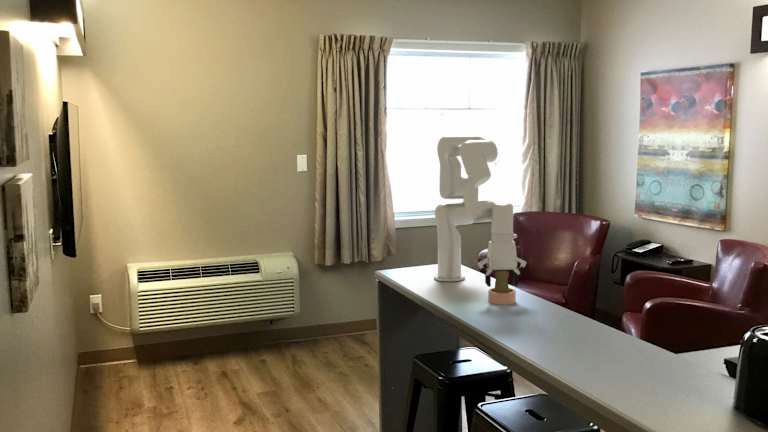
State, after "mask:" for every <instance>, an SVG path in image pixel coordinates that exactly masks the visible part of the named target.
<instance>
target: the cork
mask: <svg viewBox="0 0 768 432" xmlns="http://www.w3.org/2000/svg"><path fill="white" fill-rule="evenodd" d="M493 274H494V278H495V281H494V288H495V289H494V292H496V293H509V288H510V286H509V280H508V278H510V277H509V276H510V272H509V270H494V273H493Z"/></svg>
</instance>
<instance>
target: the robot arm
mask: <svg viewBox="0 0 768 432" xmlns="http://www.w3.org/2000/svg"><path fill="white" fill-rule="evenodd" d="M436 146H437V150H436V151H437V156H438V161H439V195H440V197H441V198H442V199H444V200H463V201H453V202H452V201H451V202H449V201H448V202H443V203H439V204H438V205H437V206H436V207H435V210H434V216H435V222H436V230H437V231H436V232H437V274H434V276H433V279H434V280H435V281H439V282H450V283H451V282H460V281H464V280H465V279H466V277H465V276H466V275H464V274H463V273H462V236H461V233H460V232H459V231H458V229H457V227H456V226H462V225H463V226H465V225H471V224H474V223H484V222H491V228H490V229H491V230H490V231H491V233H490V235H491V236H490V237H491V239H490V240H489V241H488V246H487V252H486V253H487V254H486V258H484V259H482V260H481V261H479V262H478V263H477V266H478V268H479V270H480V271H481V272H482V273H483V274H484V276H485V278H484V282H485V285H486V286H487V287H491V285H492V283H491V282H492V281H491V279H492V276H491V273H492V272H493V271H495V270H508V271H509V270H512V271H513V274H512V278H513V279H512V281H513V282H512V285H514V286H515V287H518V284H519V281H520V278H519V277H520V275H521V272H523V270H524V269H525V267H526V265H527V261H526V260H523V259H522V258H519V257H518V256H517V246H516V241H515V240H514V239H517V238H518V234H516V233H514V206H513V204H512V203H511V202H504V201H502V200H497V199H495V200H493V199H492V200H479V186H483V184H485V183H487V182H488V181H489V180H490V178H491V176H492V173H491V169H490V168H489V165H488V163H493V162H495V161H496V160H497V158H498V153H499V152H498V148H497V145H496V144H495V142H494V141H493V140H492V139H490V138H487V137H485V136H482V135H480V134H449V135H448V134H447V135H444V136H442V137H441V138H439V140H438V142H437V145H436ZM458 157H460V158H461V161H462V164H463V167H464V170H465V172H466V174H465V175H462V164H461V161H460V160H459V158H458ZM518 263H519V264H520V266H519V267H518ZM485 264H486V266H487V268H486V269H485V268H484V265H485Z"/></svg>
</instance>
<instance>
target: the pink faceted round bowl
mask: <svg viewBox="0 0 768 432" xmlns="http://www.w3.org/2000/svg"><path fill="white" fill-rule="evenodd" d="M494 289H495V287H491V288H489V289H488V294H487V295H488V300H487V301H488V302H489V303H490V304H492V305H500V306H501V305H502V306H503V305H504V306H505V305H513V304H515V303H516V302H517V301H516V300H517V295H516V294H517V290H516V289H514V288H511V287H509V293H496V292H494Z"/></svg>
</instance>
